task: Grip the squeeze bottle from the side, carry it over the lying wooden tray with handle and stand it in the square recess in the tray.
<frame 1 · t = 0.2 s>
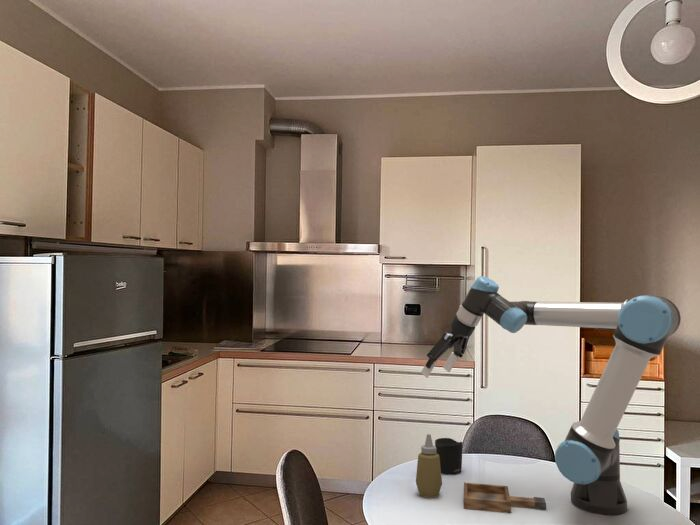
hand: (435, 372, 181), 35 cm above the table, tool tilted 35°, fingers open, 13 cm apart
pen holder: (448, 471, 187), on the table
wooden tray with handle: (486, 502, 159), on the table
squeeze bottle: (428, 495, 165), on the table
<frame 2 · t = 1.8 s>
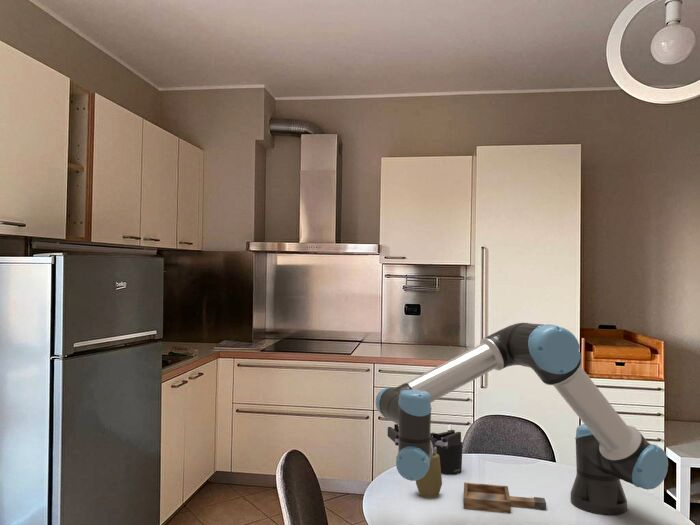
hand: (426, 427, 157), 22 cm above the table, tool horizontal, fingers open, 13 cm apart
nothing on the table moved.
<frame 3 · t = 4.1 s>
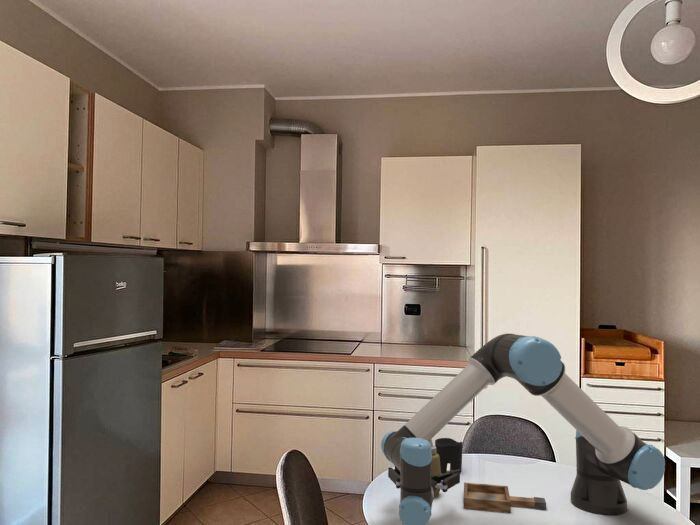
hand: (425, 466, 161), 10 cm above the table, tool horizontal, fingers open, 13 cm apart
nothing on the table moved.
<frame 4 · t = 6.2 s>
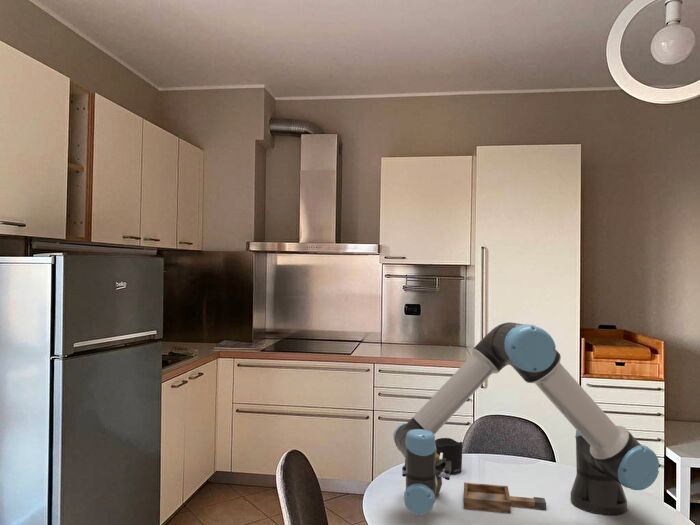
hand: (430, 456, 170), 10 cm above the table, tool horizontal, fingers closed on squeeze bottle, 6 cm apart
squeeze bottle: (428, 495, 165), on the table, touching gripper
everything else where it was.
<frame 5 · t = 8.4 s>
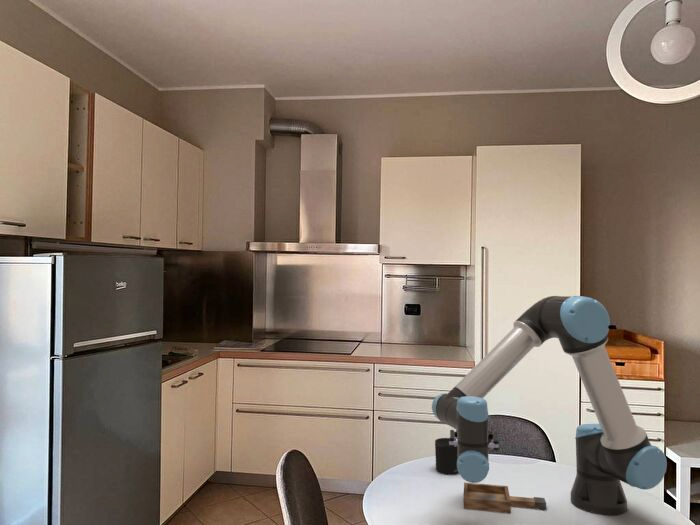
hand: (474, 429, 166), 20 cm above the table, tool horizontal, fingers closed on squeeze bottle, 6 cm apart
squeeze bottle: (474, 468, 161), point 9 cm above the table, touching gripper
everything else where it was.
when the fingers open (12 cm above the table, at t = 10.9 s): squeeze bottle drops 1 cm, resting on wooden tray with handle.
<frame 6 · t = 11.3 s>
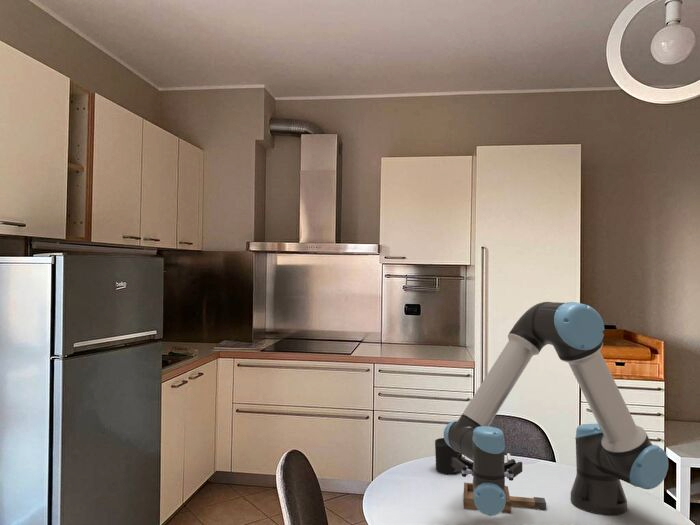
hand: (485, 456, 163), 12 cm above the table, tool horizontal, fingers open, 12 cm apart
squeeze bottle: (486, 499, 159), point 1 cm above the table, touching wooden tray with handle
everything else where it was.
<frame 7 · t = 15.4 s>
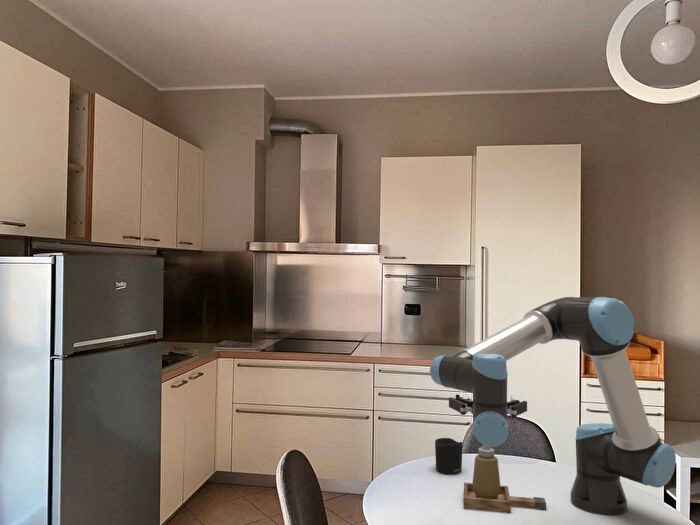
hand: (486, 398, 152), 32 cm above the table, tool horizontal, fingers open, 13 cm apart
nothing on the table moved.
at the end: squeeze bottle 0.1 cm off-centre on the wooden tray with handle, point 0.8 cm above the wooden tray with handle's base; squeeze bottle tilted 0°; the gripper is holding nothing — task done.
